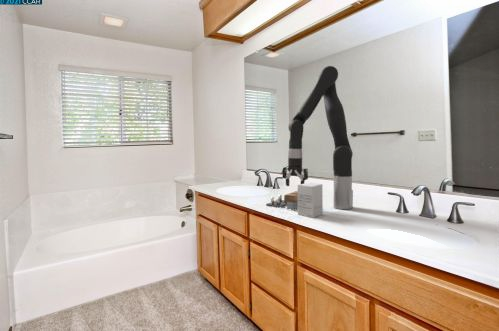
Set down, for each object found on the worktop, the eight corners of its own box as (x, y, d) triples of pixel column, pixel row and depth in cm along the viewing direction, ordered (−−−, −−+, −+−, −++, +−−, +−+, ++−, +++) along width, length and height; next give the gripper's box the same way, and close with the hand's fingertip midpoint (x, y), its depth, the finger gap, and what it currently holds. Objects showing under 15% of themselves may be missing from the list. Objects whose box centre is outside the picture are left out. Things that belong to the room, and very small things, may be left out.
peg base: (291, 203, 162) (291, 195, 161) (280, 207, 150) (280, 199, 150) (278, 201, 167) (278, 194, 167) (266, 205, 156) (266, 197, 155)
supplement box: (307, 211, 141) (307, 182, 140) (323, 214, 135) (323, 184, 134) (297, 214, 135) (297, 184, 134) (312, 217, 129) (312, 186, 128)
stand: (298, 204, 158) (298, 197, 157) (303, 205, 156) (303, 198, 156) (286, 209, 146) (286, 201, 146) (292, 210, 144) (292, 202, 144)
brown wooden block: (295, 197, 158) (295, 191, 158) (305, 198, 155) (305, 192, 154) (284, 201, 147) (284, 195, 147) (294, 202, 143) (294, 196, 143)
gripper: (310, 157, 148) (309, 187, 149) (286, 156, 156) (286, 184, 158) (304, 158, 142) (303, 189, 143) (280, 157, 150) (280, 186, 152)
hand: (294, 186), depth 151 cm, fingers open, 8 cm apart
